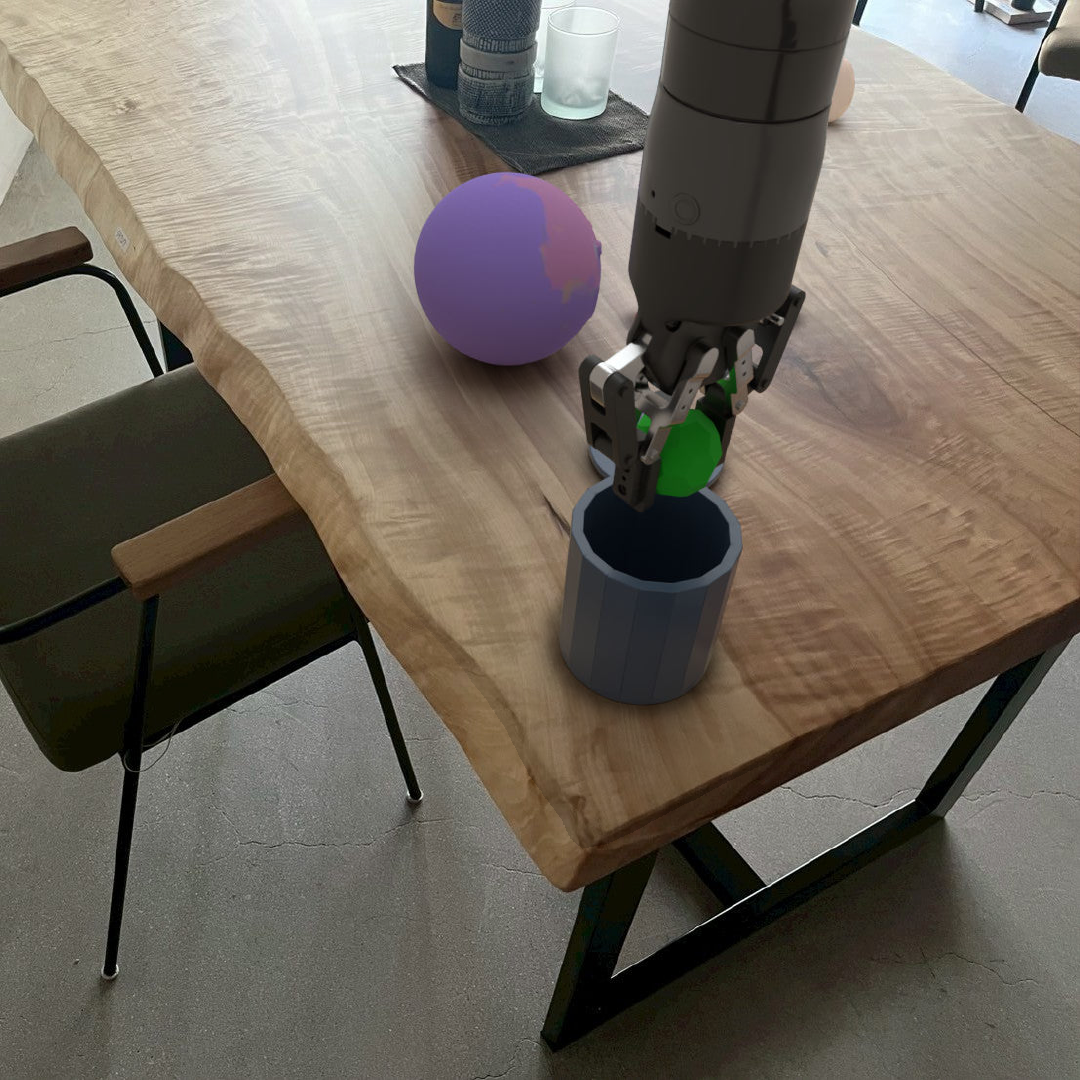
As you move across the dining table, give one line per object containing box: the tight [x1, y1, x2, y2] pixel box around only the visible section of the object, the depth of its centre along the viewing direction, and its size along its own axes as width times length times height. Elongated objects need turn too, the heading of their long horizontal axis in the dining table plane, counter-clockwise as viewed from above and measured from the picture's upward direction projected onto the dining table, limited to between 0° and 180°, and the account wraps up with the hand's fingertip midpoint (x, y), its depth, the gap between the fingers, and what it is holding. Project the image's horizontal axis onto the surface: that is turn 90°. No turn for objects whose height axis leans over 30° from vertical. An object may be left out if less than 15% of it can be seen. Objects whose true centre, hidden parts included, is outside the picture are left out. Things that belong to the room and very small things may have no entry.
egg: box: [828, 57, 856, 123], centre depth 123 cm, size 5×5×7 cm
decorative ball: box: [413, 171, 603, 366], centre depth 84 cm, size 15×15×15 cm
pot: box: [558, 475, 744, 706], centre depth 64 cm, size 10×10×10 cm
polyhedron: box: [637, 408, 722, 497], centre depth 56 cm, size 5×5×5 cm
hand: (669, 479), depth 58 cm, fingers closed on polyhedron, 5 cm apart
